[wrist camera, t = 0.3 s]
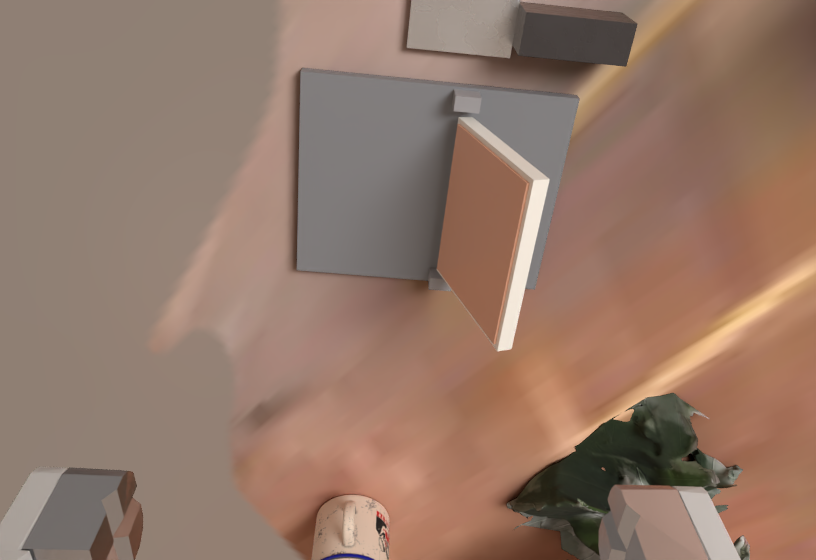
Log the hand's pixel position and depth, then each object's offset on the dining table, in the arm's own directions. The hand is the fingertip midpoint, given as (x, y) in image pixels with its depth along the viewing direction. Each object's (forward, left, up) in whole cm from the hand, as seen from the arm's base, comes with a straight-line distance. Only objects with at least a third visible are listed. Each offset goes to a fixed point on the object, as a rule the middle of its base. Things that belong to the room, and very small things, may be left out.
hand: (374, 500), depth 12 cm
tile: (+15, +9, -39) cm, 43 cm away
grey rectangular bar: (+1, +9, -47) cm, 48 cm away
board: (+15, +4, -47) cm, 49 cm away
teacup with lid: (+57, 0, -47) cm, 74 cm away
